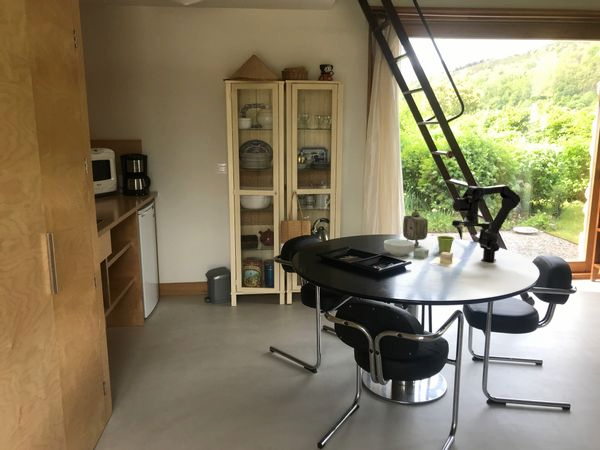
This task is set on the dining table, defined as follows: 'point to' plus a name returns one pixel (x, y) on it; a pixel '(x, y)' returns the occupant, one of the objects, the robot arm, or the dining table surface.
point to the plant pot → (445, 243)
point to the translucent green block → (421, 253)
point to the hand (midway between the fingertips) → (470, 240)
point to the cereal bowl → (398, 247)
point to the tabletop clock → (415, 227)
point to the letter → (437, 262)
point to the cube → (446, 258)
